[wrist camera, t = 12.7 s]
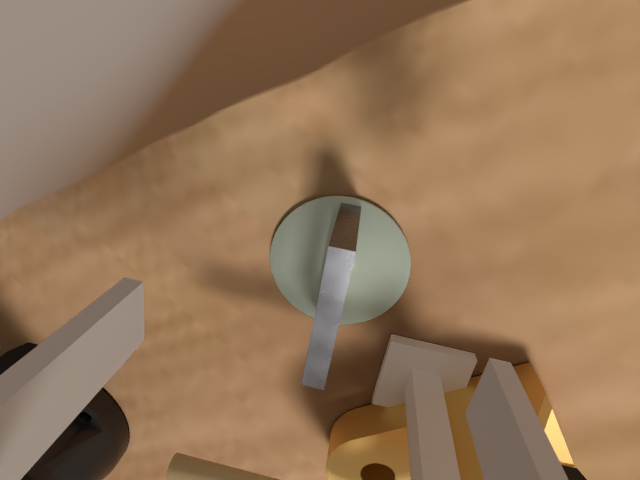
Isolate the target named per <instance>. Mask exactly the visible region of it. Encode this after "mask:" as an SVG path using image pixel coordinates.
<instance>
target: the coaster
mask: <svg viewBox="0 0 640 480" xmlns="http://www.w3.org/2000/svg"><path fill="white" fill-rule="evenodd" d="M341 202H342V203H347V204H352V205H356V206H361V214H360V222H359V230H358V238H357V246H356V253H355V258H354V262H353V266H352V271H351V275H350V279H349V284H348V288H347V292H346V297H345V301H344V305H343V310H342V314H341V319H340V323H339V324H343V325H344V324H356V323H361V322H365V321H369V320H371V319H373V318H376V317H378V316H379V315H381V314H383V313H384V312H386V311H387V310H388V309H390V308H391V307H392V306H393V305H394V304H395V303H396V302H397V301H398V299H399V298H400V297H401V295H402V294H403V292H404V290H405V288H406V286H407V283H408V280H409V276H410V269H411V259H410V251H409V247H408V243H407V241H406V238H405V236H404V234H403V232H402V230H401V228H400V227H399V226H398V224H397V223H396V222H395V220H394V219H393V218H392V217H391V216H390V215H389V214H387V213H386V212H385V211H384V210H382V209H381V208H379V207H378V206H376V205H374V204H372V203H370V202H368V201H366V200H363V199H360V198H356V197H352V196H345V195H331V196H323V197H319V198H315V199H313V200H310V201H308V202H306V203H304V204H302V205H300V206H298V207H297V208H296V209H295V210H293V211H292V212H291V213H290V214H289V215H288V216H287V217H286V218H285V219H284V221H283V222H282V223H281V225H280V226H279V228H278V230H277V231H276V233H275V235H274V238H273V241H272V245H271V250H270V264H271V270H272V274H273V277H274V280H275V282H276V284H277V286H278V288H279V290H280V291H281V293H282V294H283V296H284V297H285V298H286V299H287V300H288V301H289V302H290V303H291V304H292V305H293V306H294V307H295V308H297V309H298V310H299V311H301V312H302V313H304V314H306V315H308V316H310V317H312V318H314V317H315V312H316V307H317V302H318V297H319V292H320V287H321V282H322V277H323V272H324V266H325V261H326V256H327V251H328V246H329V243H330V239H331V236H332V232H333V229H334V225H335V222H336V219H337V215H338V212H339V208H340V205H341Z"/></svg>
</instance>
